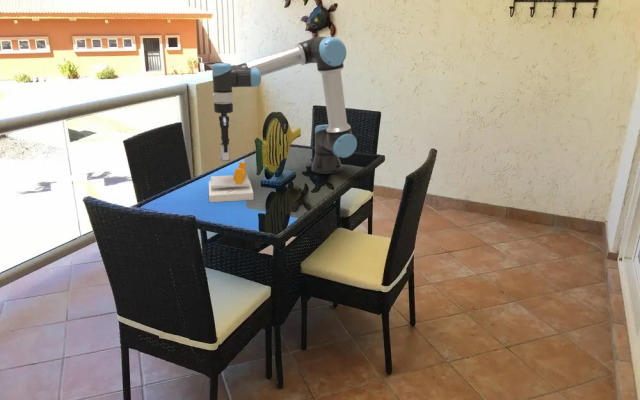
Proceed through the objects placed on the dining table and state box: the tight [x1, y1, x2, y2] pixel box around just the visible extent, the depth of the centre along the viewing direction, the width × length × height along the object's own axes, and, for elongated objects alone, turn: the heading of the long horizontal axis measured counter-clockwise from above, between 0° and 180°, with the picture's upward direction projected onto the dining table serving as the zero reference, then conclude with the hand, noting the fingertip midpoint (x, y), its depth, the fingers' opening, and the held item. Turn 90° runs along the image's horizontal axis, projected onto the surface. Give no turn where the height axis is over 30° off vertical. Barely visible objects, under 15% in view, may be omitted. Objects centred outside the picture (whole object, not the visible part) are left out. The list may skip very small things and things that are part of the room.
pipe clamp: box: [233, 161, 247, 184], centre depth 212 cm, size 12×4×6 cm, turn 0°
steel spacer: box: [219, 147, 231, 162], centre depth 208 cm, size 4×4×5 cm
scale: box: [208, 173, 254, 203], centre depth 213 cm, size 18×20×6 cm
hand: (225, 158), depth 209 cm, fingers closed on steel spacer, 4 cm apart
